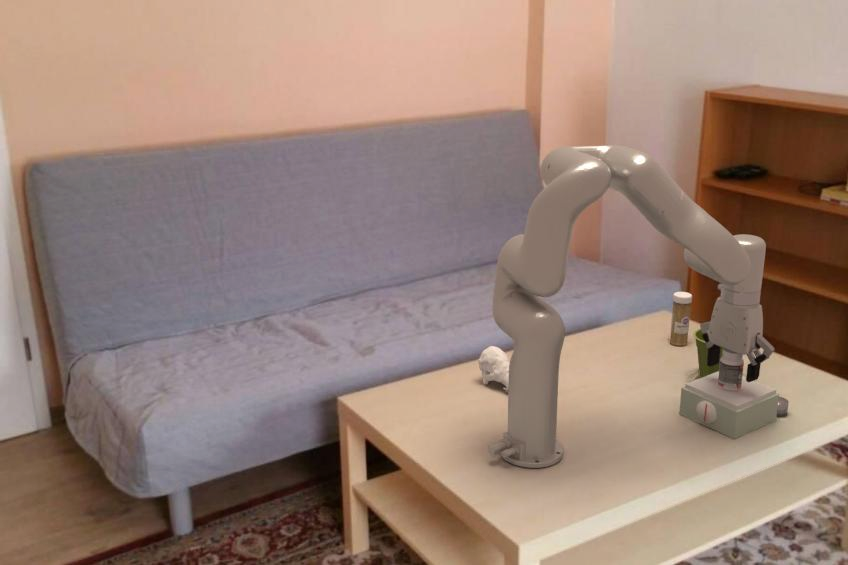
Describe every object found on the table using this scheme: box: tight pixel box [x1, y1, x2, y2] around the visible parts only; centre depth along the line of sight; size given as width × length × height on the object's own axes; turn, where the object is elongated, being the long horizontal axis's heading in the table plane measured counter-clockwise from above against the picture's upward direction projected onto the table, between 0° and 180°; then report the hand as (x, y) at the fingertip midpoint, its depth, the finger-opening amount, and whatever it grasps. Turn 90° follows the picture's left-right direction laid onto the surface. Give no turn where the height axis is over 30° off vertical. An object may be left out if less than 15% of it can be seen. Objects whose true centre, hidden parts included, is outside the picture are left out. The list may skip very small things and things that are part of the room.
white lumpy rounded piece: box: [477, 345, 510, 393], centre depth 203 cm, size 6×8×12 cm
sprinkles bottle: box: [669, 291, 693, 347], centre depth 225 cm, size 5×5×14 cm
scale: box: [679, 371, 780, 439], centre depth 188 cm, size 15×14×7 cm
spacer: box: [776, 396, 790, 419], centre depth 190 cm, size 4×4×3 cm
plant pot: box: [692, 328, 723, 379], centre depth 204 cm, size 12×12×11 cm
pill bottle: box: [718, 348, 745, 391], centre depth 185 cm, size 5×5×8 cm
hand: (732, 372), depth 186 cm, fingers open, 9 cm apart
